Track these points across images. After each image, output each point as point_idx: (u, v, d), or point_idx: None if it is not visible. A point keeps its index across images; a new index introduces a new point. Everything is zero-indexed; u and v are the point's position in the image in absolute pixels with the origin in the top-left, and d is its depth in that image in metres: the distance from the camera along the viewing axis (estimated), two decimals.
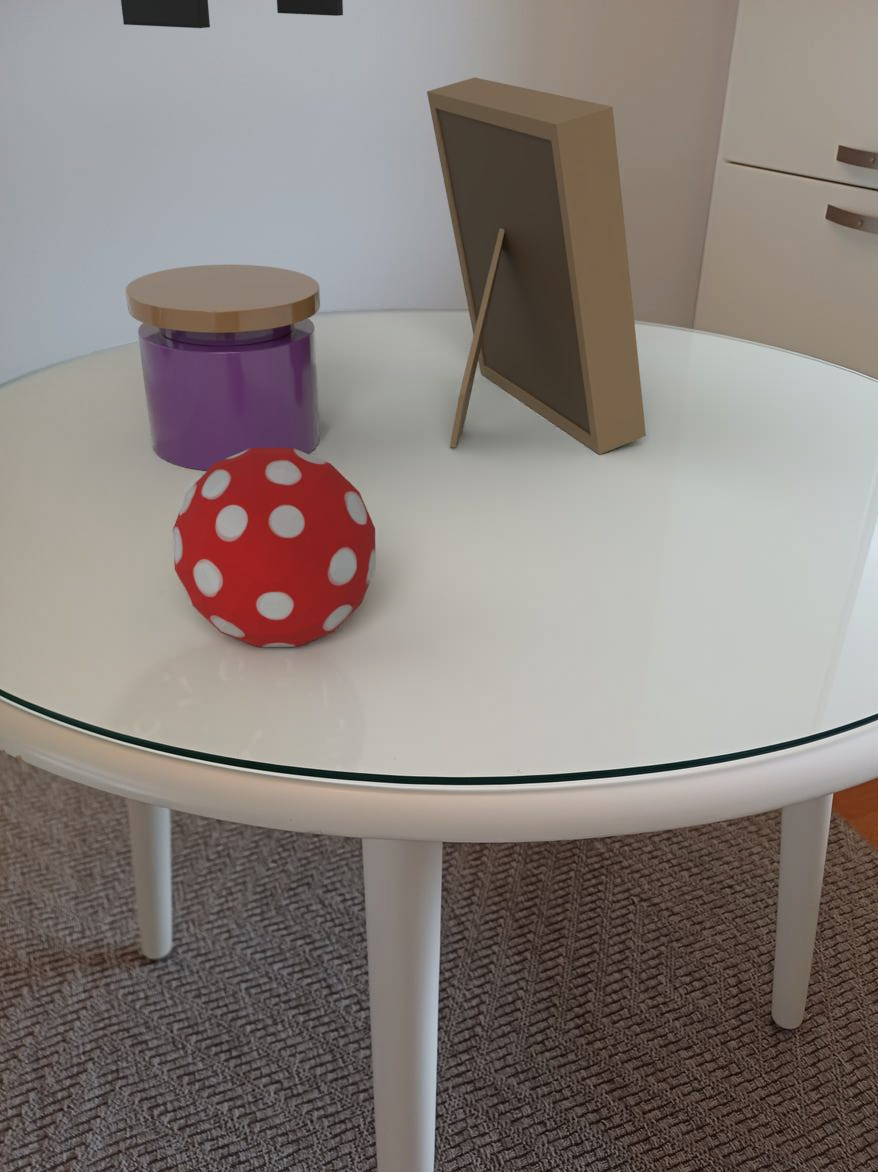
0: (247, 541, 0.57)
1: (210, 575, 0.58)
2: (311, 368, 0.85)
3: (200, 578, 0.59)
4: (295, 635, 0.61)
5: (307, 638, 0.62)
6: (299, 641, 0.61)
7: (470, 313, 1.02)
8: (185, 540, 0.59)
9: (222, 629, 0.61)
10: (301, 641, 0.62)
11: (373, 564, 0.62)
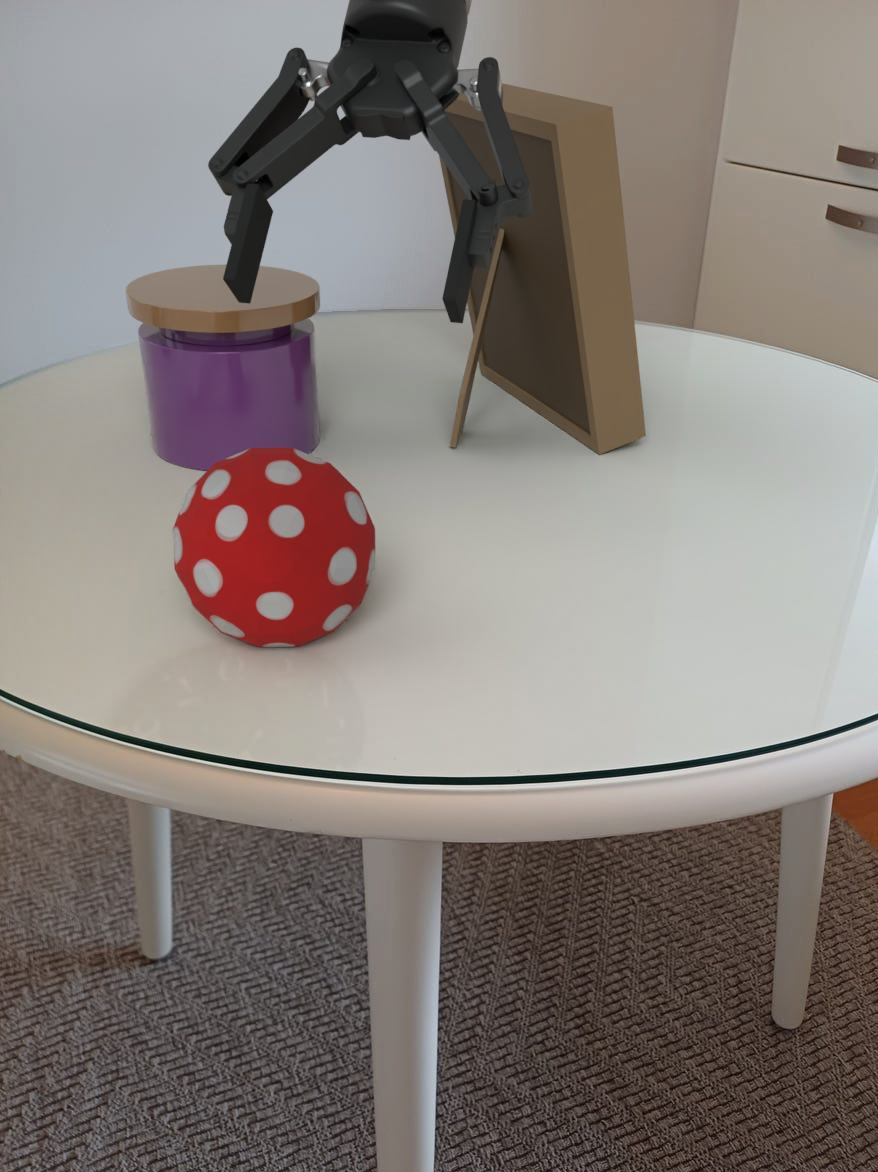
0: (247, 541, 0.57)
1: (210, 575, 0.58)
2: (311, 368, 0.85)
3: (200, 578, 0.59)
4: (295, 635, 0.61)
5: (307, 638, 0.62)
6: (299, 641, 0.61)
7: (470, 313, 1.02)
8: (185, 540, 0.59)
9: (222, 629, 0.61)
10: (301, 641, 0.62)
11: (373, 564, 0.62)
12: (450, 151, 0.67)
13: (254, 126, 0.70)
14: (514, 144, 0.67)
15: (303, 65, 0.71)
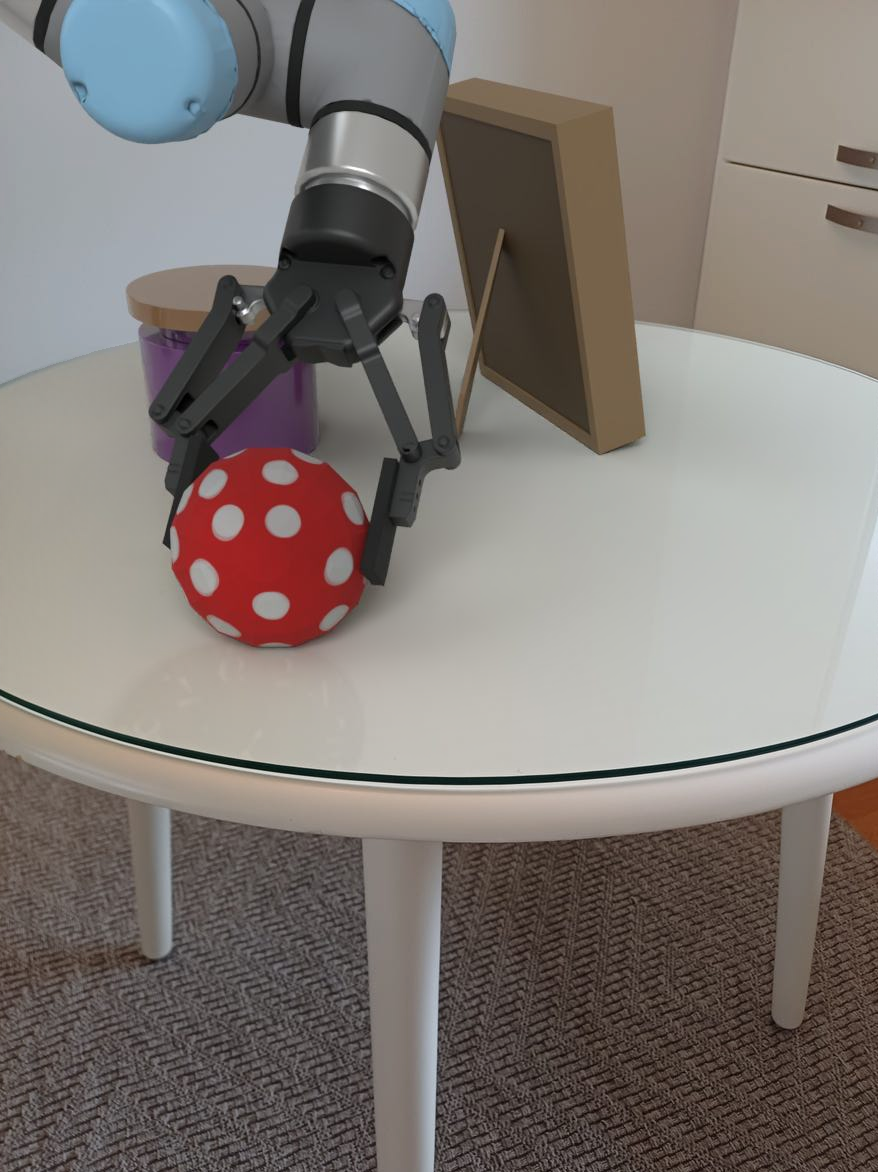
0: (243, 541, 0.57)
1: (207, 574, 0.58)
2: (311, 368, 0.85)
3: (196, 578, 0.59)
4: (291, 635, 0.61)
5: (303, 638, 0.62)
6: (295, 641, 0.61)
7: (470, 313, 1.02)
8: (182, 540, 0.59)
9: (219, 629, 0.61)
10: (297, 641, 0.62)
11: None
12: (379, 396, 0.62)
13: (193, 365, 0.65)
14: (446, 395, 0.62)
15: (237, 293, 0.66)
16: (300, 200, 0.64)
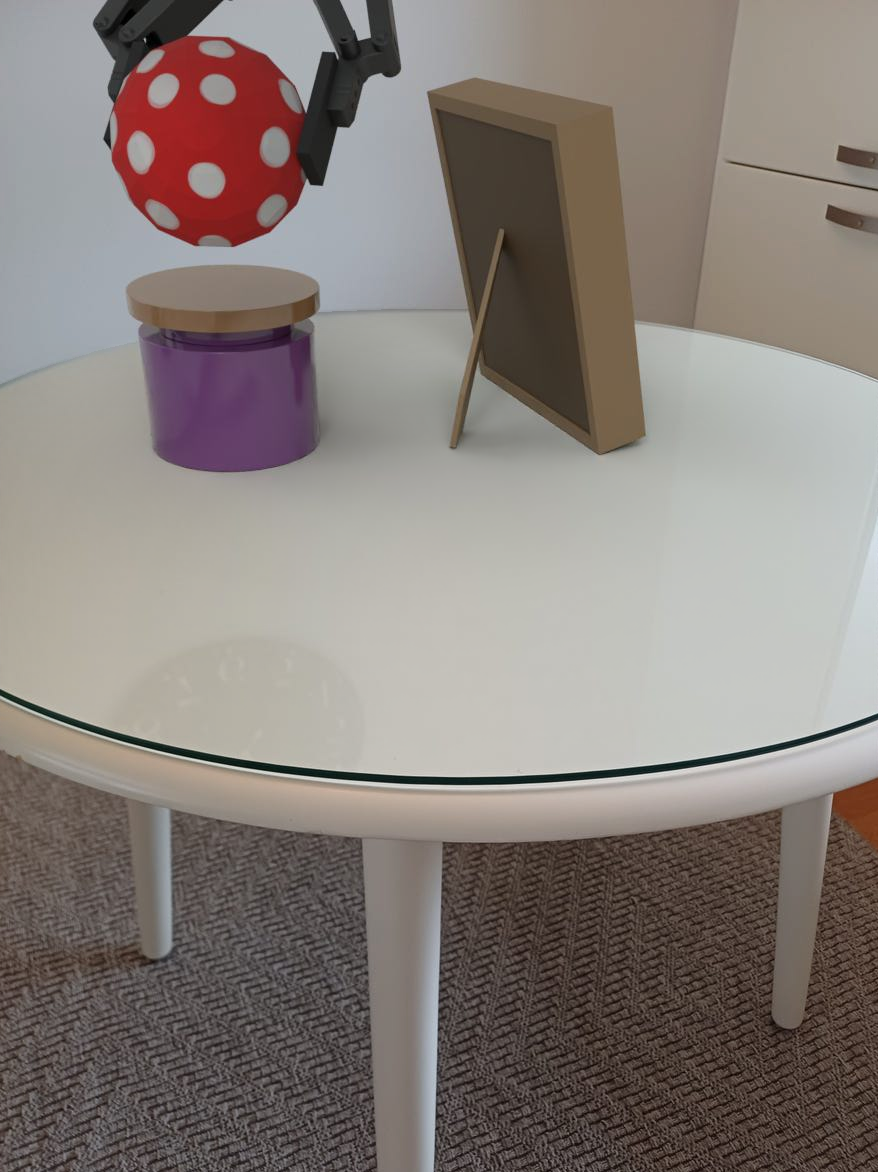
0: (178, 106, 0.58)
1: (143, 147, 0.59)
2: (311, 368, 0.85)
3: (133, 155, 0.59)
4: (229, 223, 0.61)
5: (242, 232, 0.62)
6: (233, 235, 0.62)
7: (470, 313, 1.02)
8: (119, 118, 0.60)
9: (157, 219, 0.61)
10: (236, 236, 0.62)
11: None
12: None
13: None
14: None
15: None
16: None
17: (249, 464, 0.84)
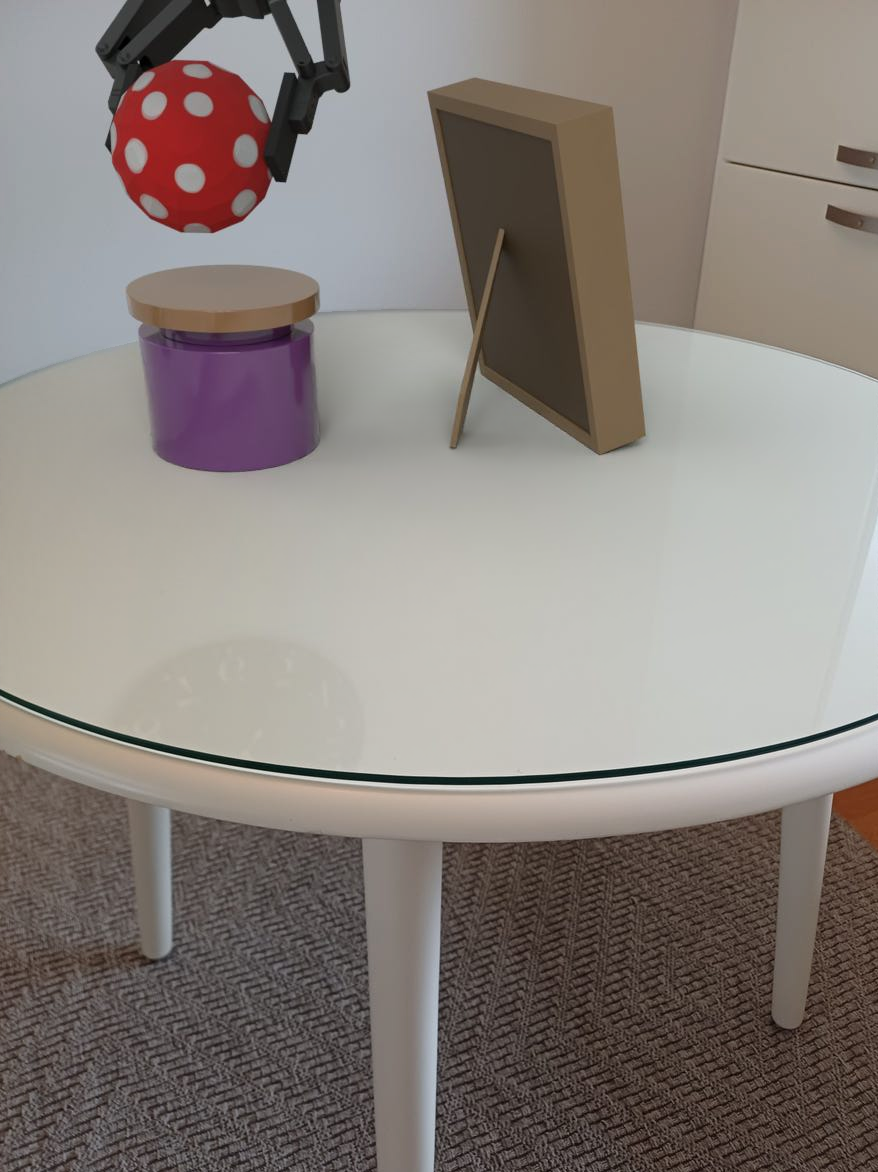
0: (166, 118, 0.71)
1: (138, 151, 0.72)
2: (311, 368, 0.85)
3: (130, 157, 0.73)
4: (208, 213, 0.75)
5: (219, 221, 0.76)
6: (212, 223, 0.76)
7: (470, 313, 1.02)
8: (118, 127, 0.73)
9: (150, 210, 0.75)
10: (215, 224, 0.76)
11: None
12: (282, 28, 0.76)
13: (132, 12, 0.79)
14: (336, 25, 0.76)
15: None
16: None
17: (249, 464, 0.84)
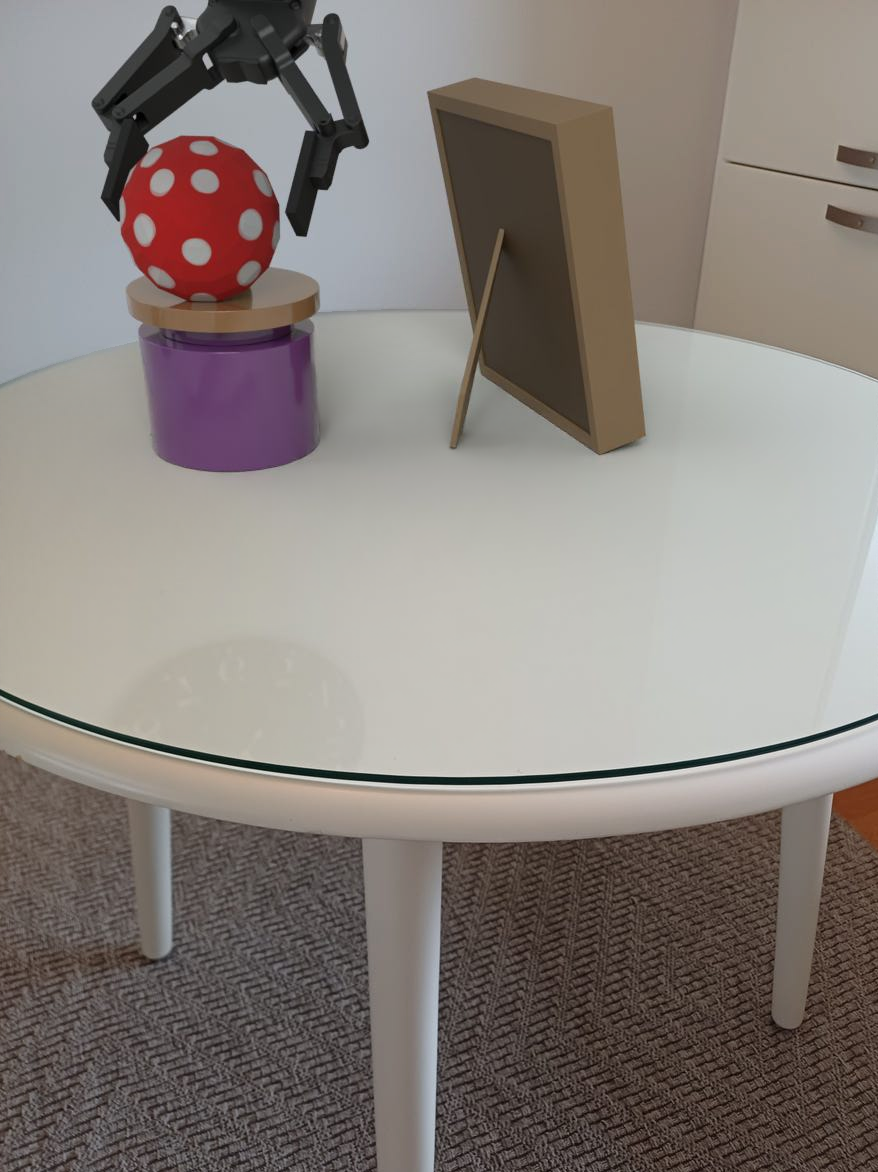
0: (173, 195, 0.74)
1: (146, 226, 0.75)
2: (311, 368, 0.85)
3: (138, 231, 0.75)
4: (214, 283, 0.77)
5: (225, 290, 0.78)
6: (218, 292, 0.78)
7: (470, 313, 1.02)
8: (127, 202, 0.76)
9: (157, 280, 0.77)
10: (220, 293, 0.78)
11: (277, 232, 0.78)
12: (296, 91, 0.79)
13: (131, 71, 0.81)
14: (350, 85, 0.78)
15: (175, 20, 0.82)
16: None
17: (249, 464, 0.84)
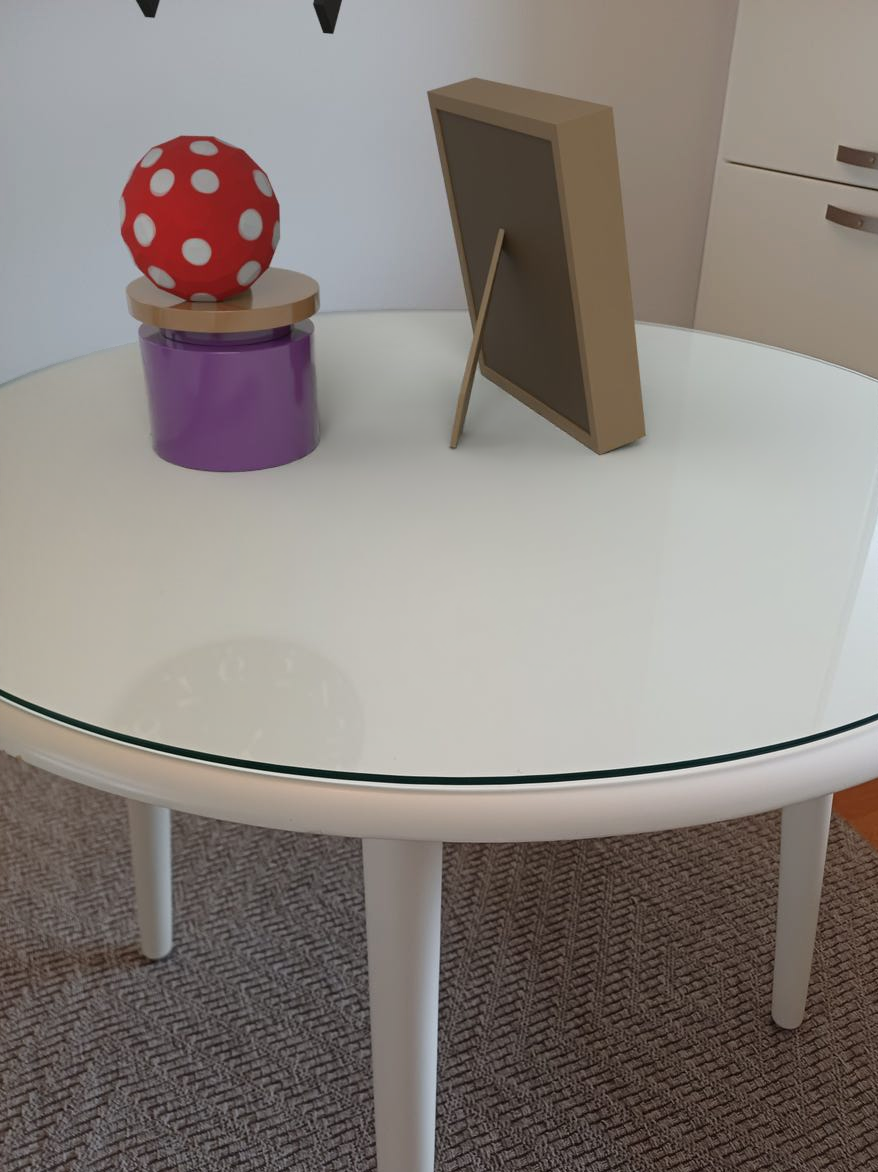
0: (174, 195, 0.74)
1: (146, 226, 0.75)
2: (311, 368, 0.85)
3: (138, 231, 0.75)
4: (214, 283, 0.77)
5: (225, 290, 0.78)
6: (218, 292, 0.78)
7: (470, 313, 1.02)
8: (127, 202, 0.76)
9: (157, 280, 0.77)
10: (220, 293, 0.78)
11: (277, 232, 0.78)
12: None
13: None
14: None
15: None
16: None
17: (249, 464, 0.84)
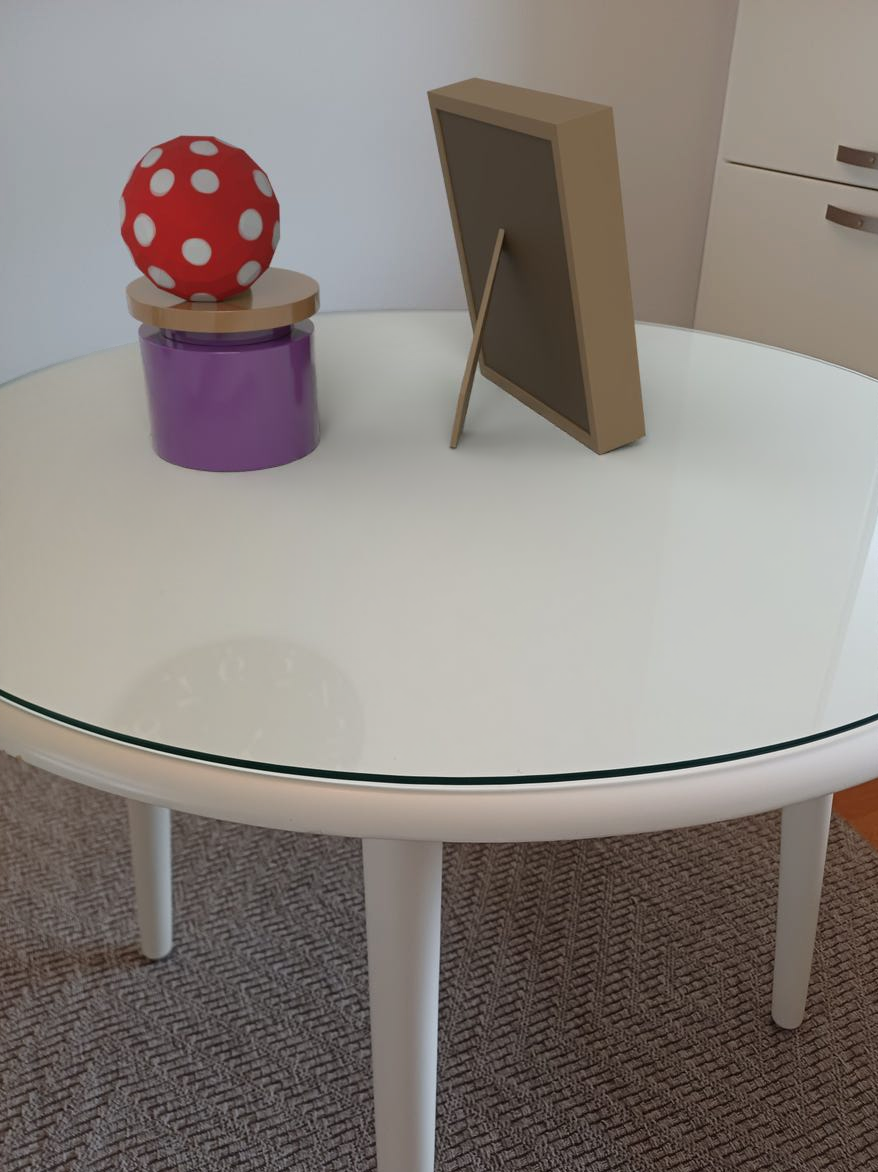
0: (174, 195, 0.74)
1: (146, 226, 0.75)
2: (311, 368, 0.85)
3: (138, 231, 0.75)
4: (214, 283, 0.77)
5: (225, 290, 0.78)
6: (218, 292, 0.78)
7: (470, 313, 1.02)
8: (127, 202, 0.76)
9: (157, 280, 0.77)
10: (220, 293, 0.78)
11: (277, 232, 0.78)
12: None
13: None
14: None
15: None
16: None
17: (249, 464, 0.84)
